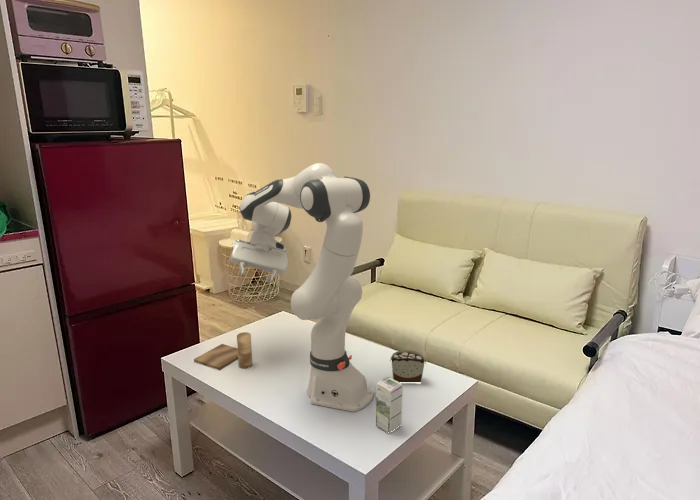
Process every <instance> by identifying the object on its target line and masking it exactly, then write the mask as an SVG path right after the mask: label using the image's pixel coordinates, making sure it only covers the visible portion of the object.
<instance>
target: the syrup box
mask: <svg viewBox="0 0 700 500" xmlns="http://www.w3.org/2000/svg"><path fill="white" fill-rule="evenodd" d="M375 387H376V388H375V390H376V391H375V397H376V398H375V426H376V427H377V426H378V428H379V429H380V430H382V429H383V430H382V431H384V430H385V431H384V432H386V431H387V432H386V433H388V432H389V433H390V432H391V431H393V430H394V429H396V428H397V427H398V426H400V425H401V424H402V423H403V422H402V421H403V420H402V417H403V384H402V383H400V382H398V381H396V380H394V379H393V377H392V378H391V377H389V376H387V377H385V378H383V379H381V380H380V381H378V382H377V383H376V385H375ZM393 432H394V431H393ZM389 433H388V434H389ZM390 434H391V433H390Z"/></svg>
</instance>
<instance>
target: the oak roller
mask: <svg viewBox="0 0 700 500" xmlns="http://www.w3.org/2000/svg"><path fill="white" fill-rule="evenodd" d="M236 344H237V345H236V348H238V360H237V361H238V368H240V369H249V368H251V367H252V366H253V352H252V334H251V333H250V332H240V333H238V334H236Z"/></svg>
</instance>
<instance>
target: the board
mask: <svg viewBox="0 0 700 500" xmlns="http://www.w3.org/2000/svg"><path fill="white" fill-rule="evenodd" d="M236 361H238V347H234V346H231V345H227V344H224V343H220V344H219V345H217V346H215V347H213V348H212V349H210V350H208V351H206V352H204V353H202V354H201V355H199V356H197V357H195V358H193V362H195V363H197V364H200V365H203V366H205V367H209V368H212V369H214V370H219V371H222V370H223V369H225V368H226V367H227V366H229V365H230V364H233V363H234V362H236Z"/></svg>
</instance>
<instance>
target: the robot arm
mask: <svg viewBox="0 0 700 500" xmlns="http://www.w3.org/2000/svg"><path fill="white" fill-rule="evenodd" d="M370 201H371V192H370V188H369V186H368V184H367V183H366V182H365V181H364V180H362V179H359V178H357V177H350V176H344V177H336V175H335V172H334V171H333V169H332V168H331V167H330V166H329V165H327V164H326V163H323V162H316V163H313V164H311V165H309V166H307V167H306V168H304V169H302V170H301V171H300V172H299V173H298V174H296V175H294V176H292V177H288V178H284V179H283V178H281V179H275V180H273V181H271V182H269V183H268V184H266V185H265V186H263V187H261V188H259V189H258V190H256V191H252V192H249V193H247V194H245V195H244V197H243V198H242V200H241V202H240V205H239V213H240V215H241V216H242V218H243V219H244V220H246V221H250V222H253V225H252V231H253V232H252V234H251V236H250V239H249V241H246V240H242V239H237V240H234V241H233V242H232V244H231V247H232V248H231V249H233V250H232V251H231V254H230V258H229V261H230V262H231V263H232V264H234V265H238V268H239V270H240V276H242V277H245V276H246V275H247V274H246V273H247V269H246V268H244V266H245V267H248V268H252V269H256V270H260V271H265V272H269V273H271V275H268V276H267V280H266V281H267V283H272V282H273V278H274V277H275V276H276V274H278V275H283V276H284V275H285V274H286V272H287V271H288V265H289V263H288V262H289V260H288V258H289V257H288V255H287V248H288V247H287V246H286V245H285V244H283V243H281V242H279V241H278V240H276V235H280V234H282V233H284V232H285V231H287V230H288V229H289V227H290V224H291V222H292V217H293V215H292V211H291V209H290V208H289V207H288V206H290V207H293V208H297V209H301V210H302V209H303V210H304V212H306V214H307V215H309V216H311V217H312V218H314V219H315V221H316V222H318V223H323V222H325V224H326V229H325V231H326V232H325V233H324V234H325V235H324V238H323V242H322V245H321V250H320V253H319V257H318V260H317V263H316V265H315V266H314V268H313V270H312V271H311V273H310V274H309V276H307V279H306V280H305V281H304V282H303V283H302V285H300V286H299V287H298V288H297V289H295V291H294V292H292V295H291V298H290V307H291V311H292V313H293V314H294V316H296V317H297V318H298V319H299V320H302V321H307V320H308V321H309V320H311V321H312V320H317V322H316V323H314V325H313V326H312V329H311V330H310V331H311V333H310V345H311V346H310V349H311V350H310V352H309V364H310V377H309V381H308V384H307V385H308V386H307V389H306V393H307V395H308V397H309V398H310V403H311V404H312V405H314V406H315V405H316V406H321V407H326V408H332V409H337V410H343V411H348V412H353V413H355V412H358V411H361V410H362V409H364V408H366V406H369V404H370V403H371V402H372V400H373V399H374V397H375V390H374V389H373V388H371V387H370V386H368V383H367V379H366V377H365V375H363V373H361V372H360V371H359V370H358V369H357V368H356V367H355V366H354V365H353V364H352V363H351V362H350V361H351V360H352V359H353V355H349V356H348V353H347V351H346V332H347V331H346V330H347V326H348V323H349V320H350V317H351V315H352V313H353V311H354V309H355V307H356V306H357V304H358V303H360V301H361V299H362V297H363V288H362V285H361V282H360V281H359V279H358V278H356V277H355V276H353V275H352V274H353V273H354V269H355V266H356V264H357V263H356V262H357V259H358V255H359V252H360V248H361V246H362V245H361V244H362V239H363V234H364V233H363V232H364V223H363V219H362V218H361V217H360V215H358V214H357V213H359V212H362V211H365V209H367V207H368V206H369V204H370ZM286 205H287V206H286Z"/></svg>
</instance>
